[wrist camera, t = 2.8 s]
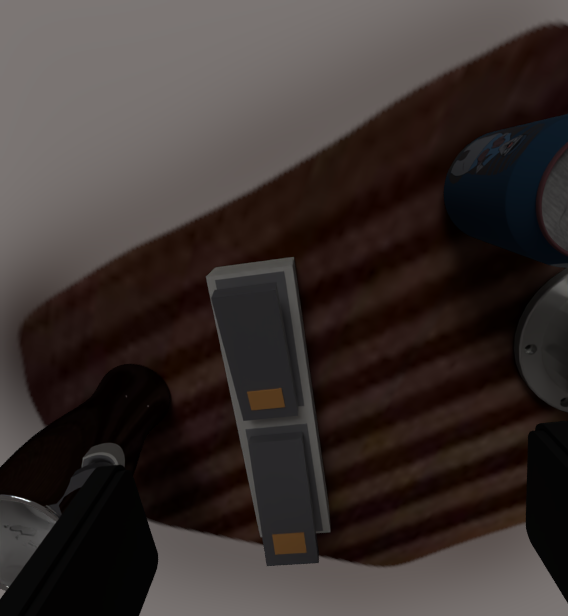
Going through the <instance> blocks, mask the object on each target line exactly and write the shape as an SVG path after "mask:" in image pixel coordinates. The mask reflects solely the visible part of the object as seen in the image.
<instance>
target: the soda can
mask: <svg viewBox="0 0 568 616" xmlns="http://www.w3.org/2000/svg"><path fill="white" fill-rule="evenodd" d="M444 202H445V206H446V210H447V213H448V215H449V217H450V219H451V220H452V222H453V223H454V224H455V225H456V226H457V227H458V228H459V229H460V230H461V231H462V232H464V233H465V234H467V235H469V236H471V237H474V238H476V239H479V240H482V241H484V242H487V243H490V244H493V245H495V246H498V247H501V248H504V249H506V250H509V251H512V252H515V253H517V254H520V255H523V256H526V257H528V258H531V259H534V260H537V261H539V262H542V263H545V264H548V265H551V266H556V267H563V268H568V114H566V115H562V116H558V117H554V118H549V119H545V120H541V121H537V122H533V123H528V124H524V125H520V126H516V127H511V128H507V129H503V130H499V131H495V132H491V133H488V134H485V135H483V136H481V137H479V138H477V139H476V140H474V141H473V142H471V143H470V144H469V145H467V146H466V147H465V148H464V149H463V150H462V151H461V152H460V153H459V154H458V156H457V157H456V158H455V160H454V161H453V163H452V165H451V167H450V169H449V171H448V174H447V177H446V180H445V185H444Z"/></svg>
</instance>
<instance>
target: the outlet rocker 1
mask: <svg viewBox="0 0 568 616" xmlns="http://www.w3.org/2000/svg"><path fill="white" fill-rule="evenodd" d="M211 300H212V304H213V308H214V312H215V316H216V319H217V323H218V327H219V331H220V334H221V338H222V342H223V346H224V349H225V353H226V357H227V361H228V365H229V368H230V372H231V376H232V380H233V383H234V387H235V391H236V395H237V399H238V402H239V406H240V410H241V414H242V417H243V421H248V420H259V419H269V418H279V417H290V416H298V400H297V395H296V389H295V383H294V378H293V372H292V367H291V361H290V355H289V350H288V344H287V339H286V333H285V327H284V322H283V316H282V311H281V305H280V299H279V294H278V288H277V283H276V282H272V283H265V284H257V285H249V286H242V287H234V288H226V289H218V290H214V292H213V295H212V297H211Z"/></svg>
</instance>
